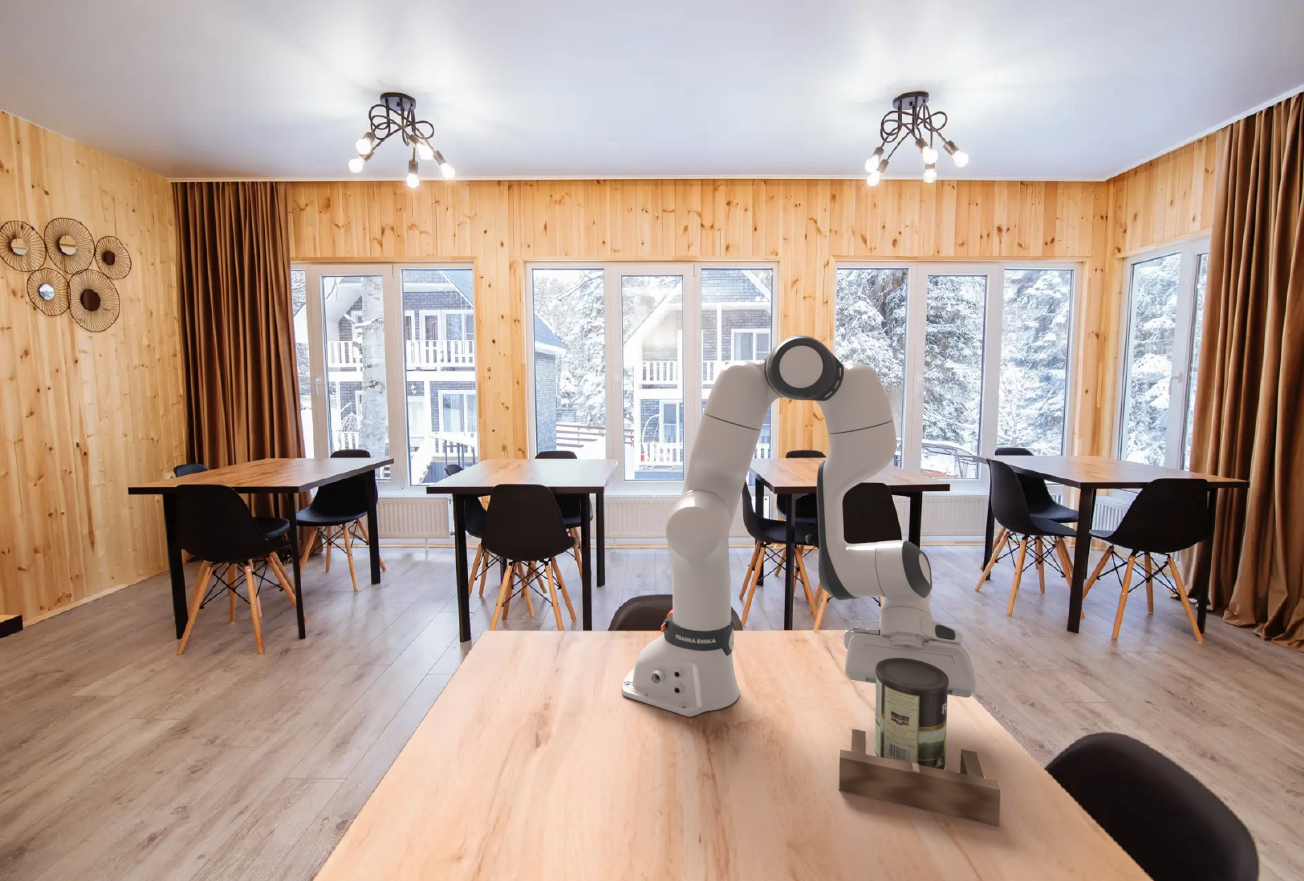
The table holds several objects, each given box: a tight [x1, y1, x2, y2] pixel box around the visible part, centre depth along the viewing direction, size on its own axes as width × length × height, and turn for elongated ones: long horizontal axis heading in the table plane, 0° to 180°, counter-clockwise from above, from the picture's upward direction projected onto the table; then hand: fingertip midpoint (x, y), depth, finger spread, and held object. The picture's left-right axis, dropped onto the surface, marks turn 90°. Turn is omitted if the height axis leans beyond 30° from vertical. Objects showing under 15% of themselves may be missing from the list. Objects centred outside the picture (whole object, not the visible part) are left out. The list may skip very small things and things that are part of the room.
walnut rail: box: [838, 728, 1001, 827], centre depth 82 cm, size 20×8×5 cm, turn 69°
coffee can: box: [873, 658, 949, 770], centre depth 88 cm, size 10×10×14 cm
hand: (908, 714), depth 94 cm, fingers closed, pressing on coffee can
